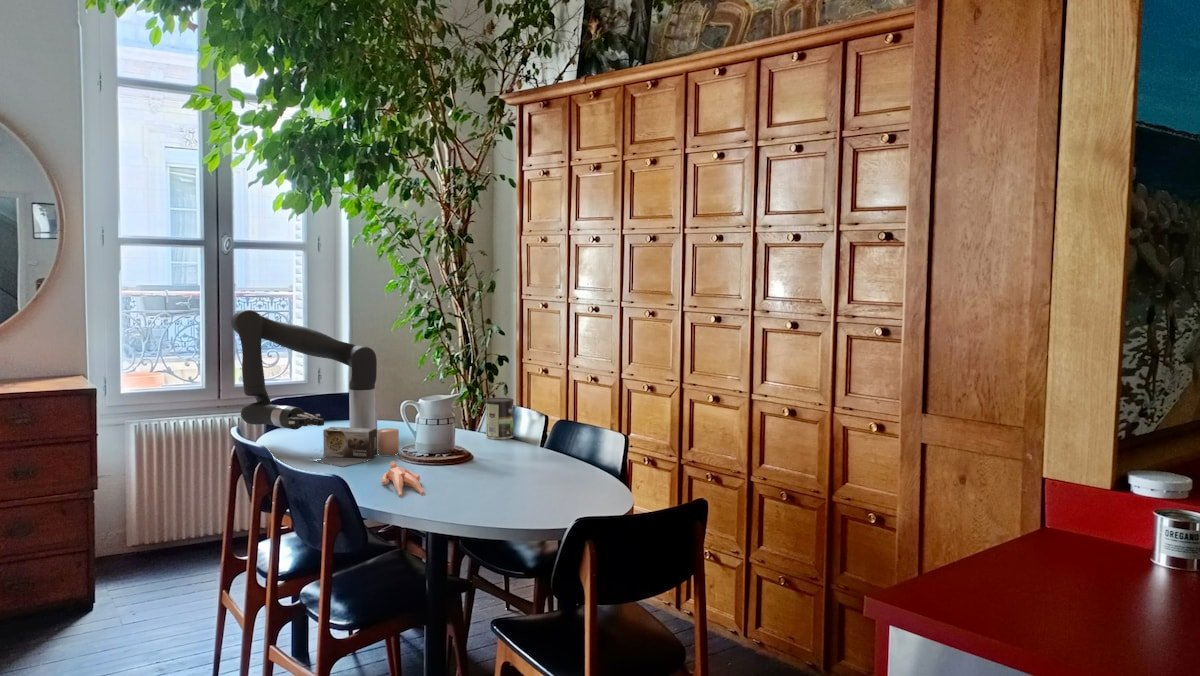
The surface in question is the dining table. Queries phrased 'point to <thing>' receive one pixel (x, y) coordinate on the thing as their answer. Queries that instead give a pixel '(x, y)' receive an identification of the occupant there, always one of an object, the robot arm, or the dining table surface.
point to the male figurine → (401, 479)
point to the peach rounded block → (387, 441)
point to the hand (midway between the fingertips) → (322, 422)
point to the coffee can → (499, 418)
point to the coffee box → (350, 442)
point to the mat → (341, 461)
